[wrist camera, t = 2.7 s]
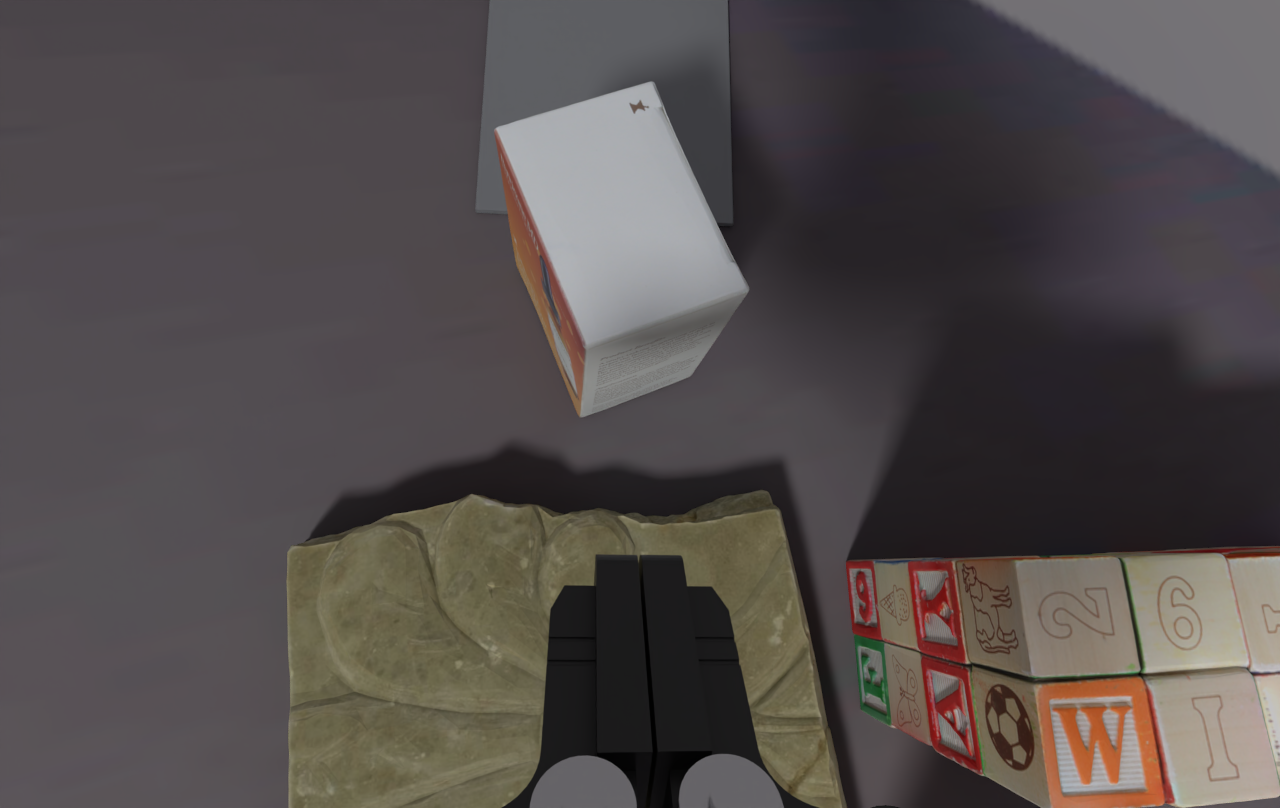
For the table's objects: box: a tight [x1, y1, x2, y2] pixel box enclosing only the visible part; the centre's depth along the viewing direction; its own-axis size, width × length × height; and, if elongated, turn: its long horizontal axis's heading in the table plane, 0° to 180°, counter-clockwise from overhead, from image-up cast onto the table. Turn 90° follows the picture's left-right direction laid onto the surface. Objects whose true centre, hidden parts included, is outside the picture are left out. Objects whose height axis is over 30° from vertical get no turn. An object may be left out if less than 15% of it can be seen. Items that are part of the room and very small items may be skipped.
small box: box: [494, 81, 749, 417], centre depth 26 cm, size 8×6×10 cm
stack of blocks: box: [846, 546, 1280, 808], centre depth 25 cm, size 21×6×12 cm, turn 92°
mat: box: [475, 0, 733, 227], centre depth 34 cm, size 12×16×1 cm
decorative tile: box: [287, 490, 847, 808], centre depth 26 cm, size 19×20×4 cm
